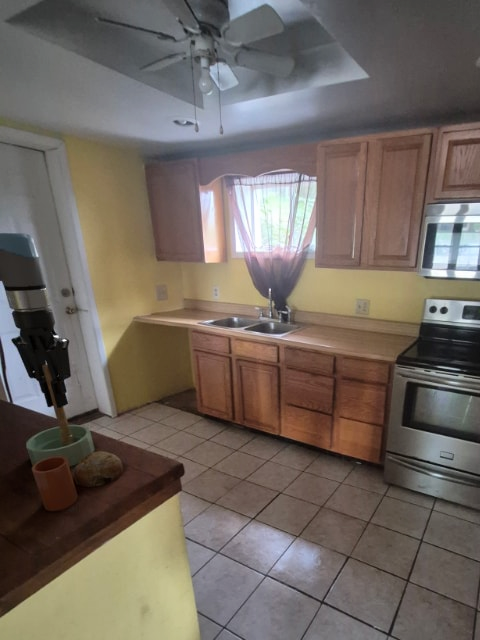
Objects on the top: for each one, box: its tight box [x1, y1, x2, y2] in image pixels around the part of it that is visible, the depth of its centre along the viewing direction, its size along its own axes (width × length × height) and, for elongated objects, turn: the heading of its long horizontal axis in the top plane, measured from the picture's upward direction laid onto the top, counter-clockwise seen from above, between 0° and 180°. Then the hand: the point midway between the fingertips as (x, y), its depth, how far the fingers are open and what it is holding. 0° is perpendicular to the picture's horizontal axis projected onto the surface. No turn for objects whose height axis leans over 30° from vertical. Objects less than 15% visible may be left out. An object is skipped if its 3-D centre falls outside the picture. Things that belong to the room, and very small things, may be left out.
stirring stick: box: [42, 364, 75, 447], centre depth 92 cm, size 3×2×22 cm, turn 80°
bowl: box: [25, 424, 95, 468], centre depth 94 cm, size 14×14×6 cm
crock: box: [31, 456, 79, 512], centre depth 76 cm, size 6×6×10 cm
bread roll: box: [73, 451, 124, 488], centre depth 86 cm, size 10×10×8 cm
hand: (58, 405), depth 92 cm, fingers closed on stirring stick, 2 cm apart
